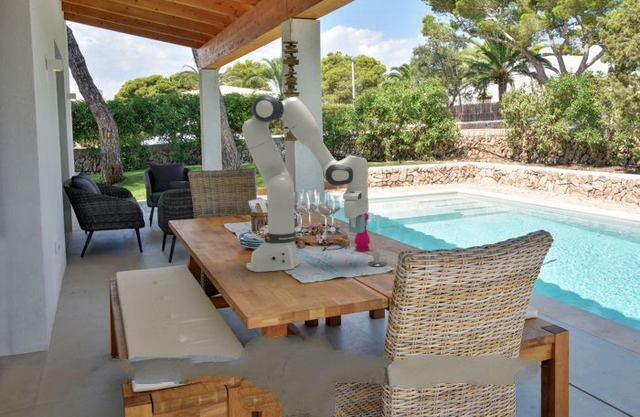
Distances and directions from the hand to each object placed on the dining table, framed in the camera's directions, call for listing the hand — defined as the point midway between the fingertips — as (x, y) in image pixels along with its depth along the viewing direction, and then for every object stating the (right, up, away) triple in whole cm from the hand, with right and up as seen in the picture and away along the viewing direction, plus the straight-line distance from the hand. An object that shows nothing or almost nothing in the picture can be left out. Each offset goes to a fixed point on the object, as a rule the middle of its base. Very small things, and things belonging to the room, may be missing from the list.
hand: (356, 226), depth 250 cm
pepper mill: (+4, -12, +28) cm, 31 cm away
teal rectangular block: (0, -2, 0) cm, 2 cm away
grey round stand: (+9, -16, 0) cm, 18 cm away
